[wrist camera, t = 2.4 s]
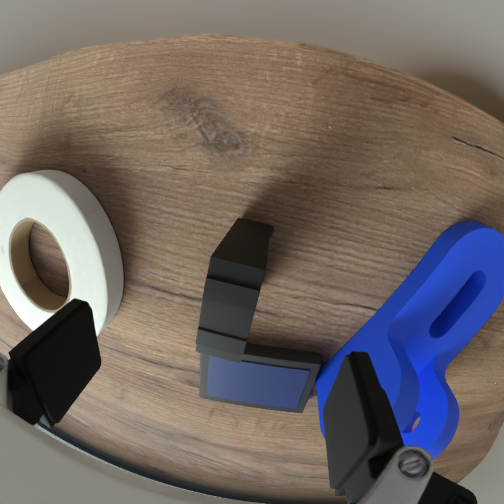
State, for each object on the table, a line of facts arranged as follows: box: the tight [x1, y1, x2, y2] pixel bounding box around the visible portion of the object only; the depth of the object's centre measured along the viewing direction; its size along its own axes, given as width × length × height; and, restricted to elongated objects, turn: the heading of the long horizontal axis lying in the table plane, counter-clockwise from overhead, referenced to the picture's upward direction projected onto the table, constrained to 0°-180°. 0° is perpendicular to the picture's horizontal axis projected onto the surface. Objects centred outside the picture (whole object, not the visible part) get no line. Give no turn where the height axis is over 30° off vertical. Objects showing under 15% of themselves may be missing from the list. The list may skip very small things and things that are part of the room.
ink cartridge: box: [196, 218, 274, 363], centre depth 15 cm, size 5×2×8 cm, turn 168°
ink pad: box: [199, 343, 321, 413], centre depth 22 cm, size 9×6×2 cm, turn 83°
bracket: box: [316, 221, 504, 459], centre depth 15 cm, size 18×8×9 cm, turn 146°
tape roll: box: [0, 170, 124, 336], centre depth 20 cm, size 16×15×3 cm
